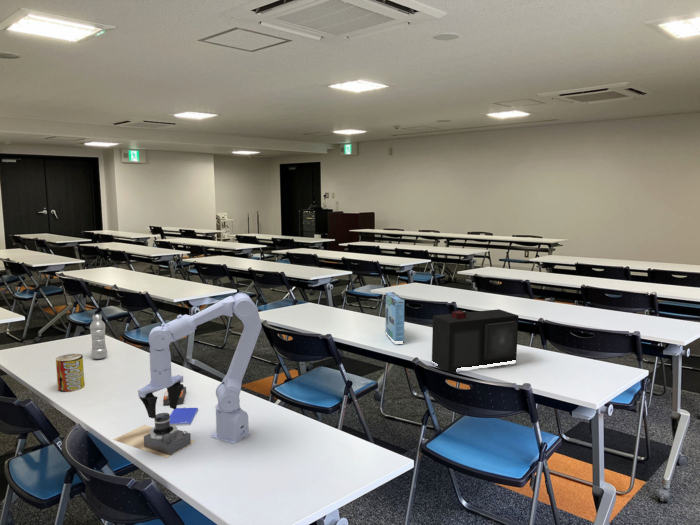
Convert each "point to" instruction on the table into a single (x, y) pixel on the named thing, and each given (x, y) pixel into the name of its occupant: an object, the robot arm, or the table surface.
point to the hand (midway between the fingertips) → (162, 412)
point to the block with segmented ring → (167, 440)
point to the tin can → (70, 372)
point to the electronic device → (180, 400)
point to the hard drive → (183, 416)
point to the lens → (162, 423)
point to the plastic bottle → (98, 337)
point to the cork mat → (141, 440)
